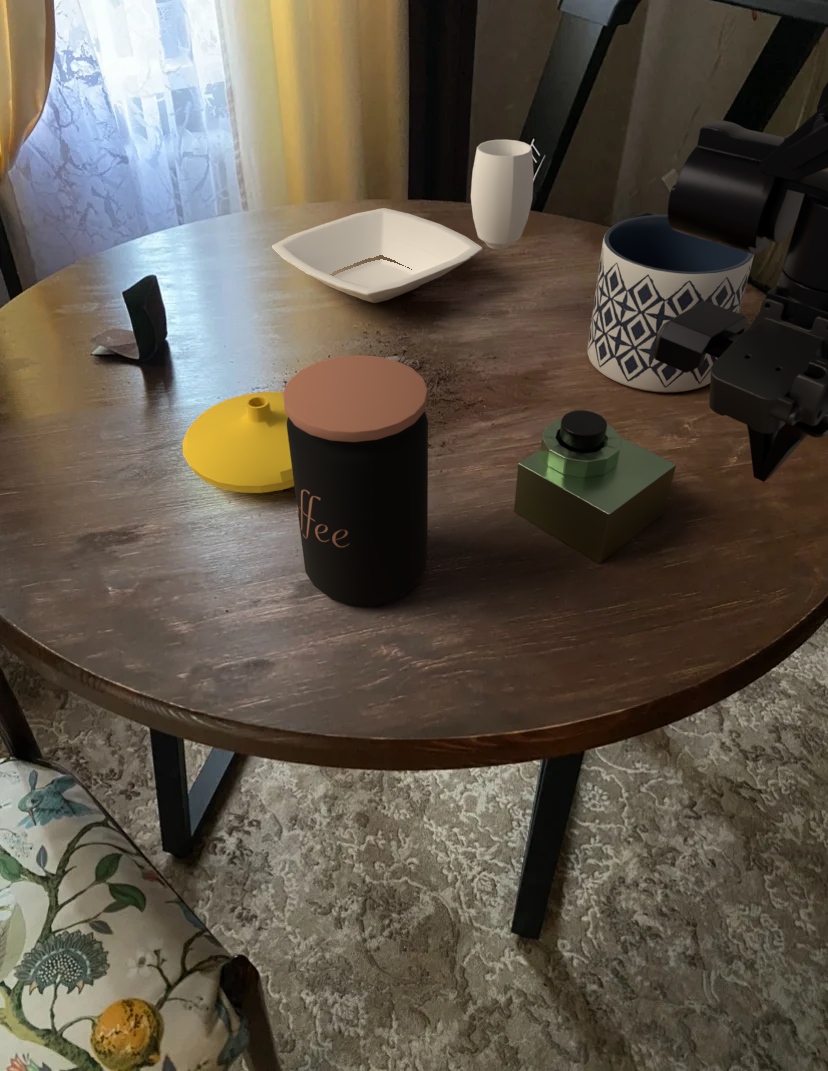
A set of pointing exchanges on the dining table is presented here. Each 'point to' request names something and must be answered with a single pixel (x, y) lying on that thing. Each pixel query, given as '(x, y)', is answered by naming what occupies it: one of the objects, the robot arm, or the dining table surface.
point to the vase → (242, 444)
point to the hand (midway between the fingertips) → (761, 477)
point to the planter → (657, 298)
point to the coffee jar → (360, 476)
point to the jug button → (582, 431)
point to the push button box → (592, 492)
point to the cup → (501, 191)
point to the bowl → (377, 253)
